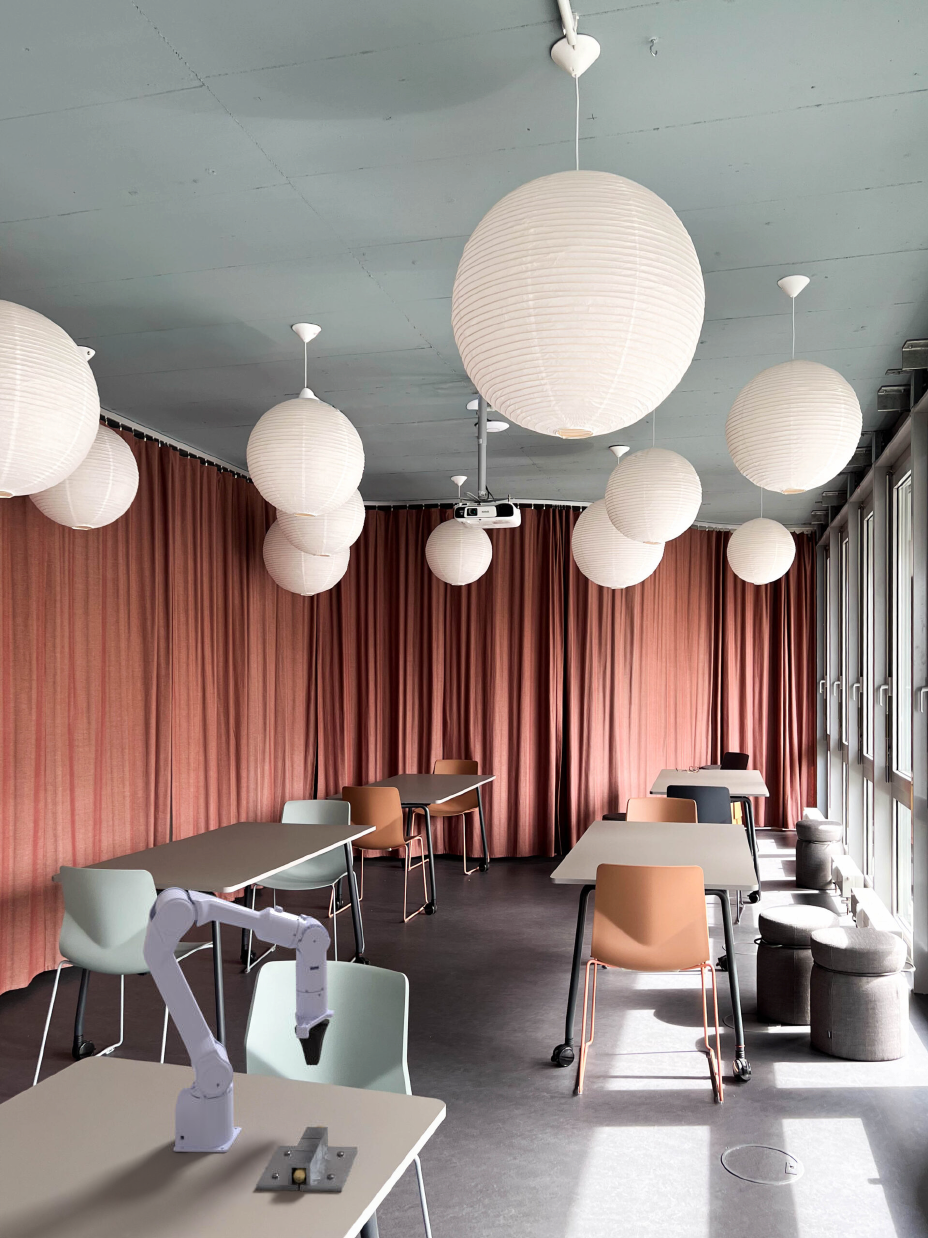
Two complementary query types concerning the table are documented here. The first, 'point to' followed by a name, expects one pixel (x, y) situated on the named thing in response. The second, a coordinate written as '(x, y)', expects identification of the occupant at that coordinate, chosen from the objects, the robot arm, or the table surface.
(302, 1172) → the pin
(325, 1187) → the hinge
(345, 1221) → the table surface
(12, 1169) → the table surface
